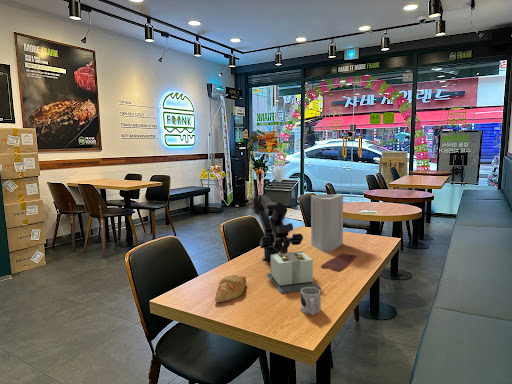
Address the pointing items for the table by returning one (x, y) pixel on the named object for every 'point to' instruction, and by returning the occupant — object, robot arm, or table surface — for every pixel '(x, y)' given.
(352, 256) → the wooden tablet
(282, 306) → the table surface
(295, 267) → the two-slot toaster
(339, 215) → the paper bag
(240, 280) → the croissant
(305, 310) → the mug
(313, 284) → the base plate
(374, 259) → the table surface
